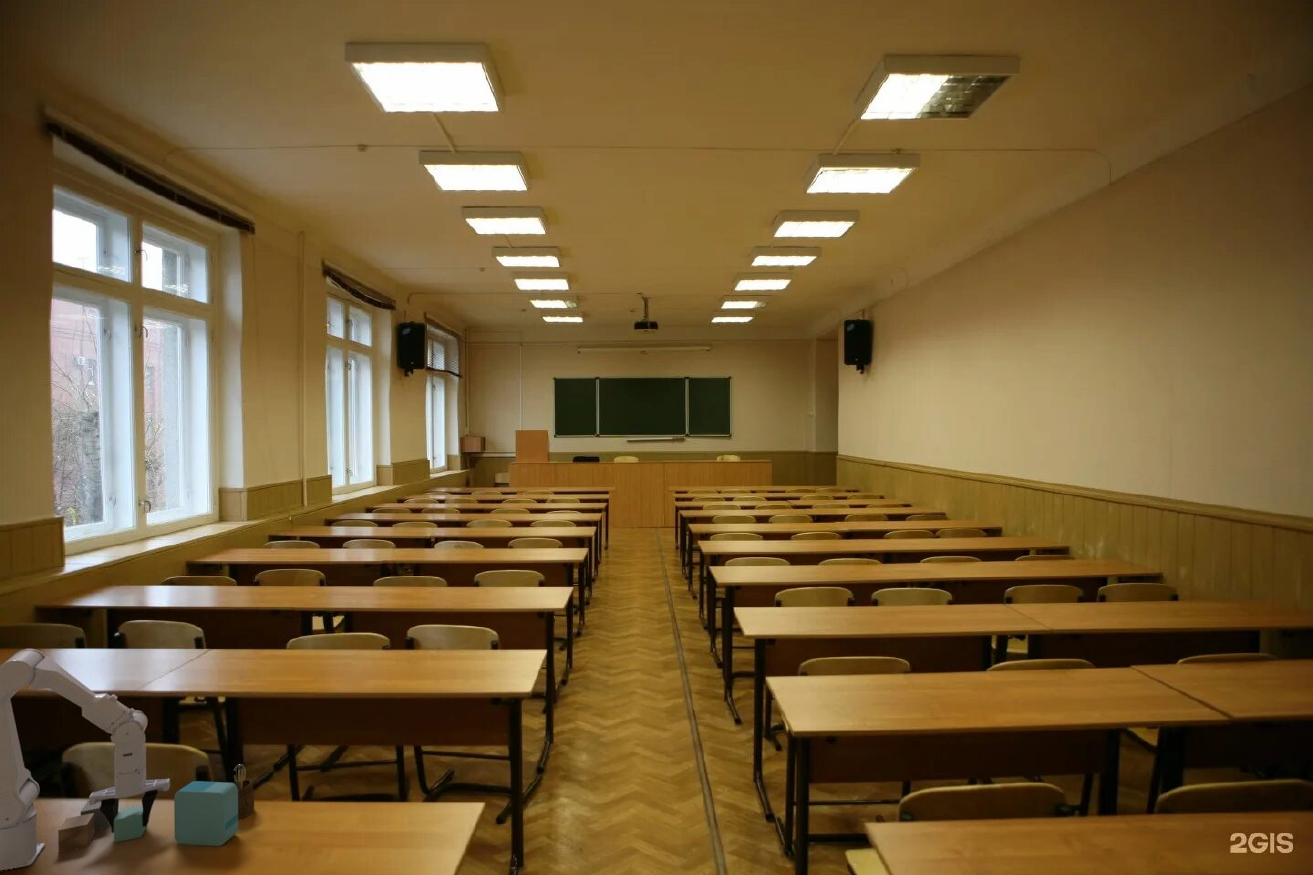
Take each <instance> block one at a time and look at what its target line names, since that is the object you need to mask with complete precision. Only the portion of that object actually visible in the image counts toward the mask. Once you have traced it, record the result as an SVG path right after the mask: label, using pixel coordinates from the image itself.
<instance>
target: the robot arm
mask: <svg viewBox="0 0 1313 875" xmlns="http://www.w3.org/2000/svg"><path fill="white" fill-rule="evenodd" d="M28 685H30V686H29V687H28V688H27V689H28V690H38V689H49V690H52V691H53V692H55V693H56V694H58V695H60V696H62V697H63V698H65V699H66V700H69V701H70V702H72V703H73V704H75V705H77V706H78V707H81V717H83V718H85V720H88V721H90V723H92V724H94V725H95V726H96V727H98V728H99V729H101V730H103V731H104V732H106V733H108V734H111V736H110V741H111V742H112V743H113V744H114V753H113V754H114V755H113V759H114V762H113V763H114V766H113V768H114V771H113V772H114V775H113V776H114V778H113V779H114V784H113V785H114V786H113V787H109V788H105V789H102V790H99V791H98V790H97V791H94V792H93V791H92V792H91V794H90V795H89V797H88V801H89V805H93V804H96V803H97V802H101V806H100V811H101V812H102V813H103V814H104V815H105V816H106V818H107V820H108V821H109V824H110V825H109V826H110V829H111V833H112V834H114V819H115V817H116V816H117V814H118V812H119V805H120V799H123V798H130V797H133V796H139V795H143V794H144V795H143V797H142V799H141V805H143V827H145V826H146V827H147V826H148V825H149V822H150V816H151V811H152V808H153V806H154V802H155V800H156V797H157V796H158V794H159V792H160V791H162V792H167V791H169V790H170V787H171V779H170V778H165V779H148V780H147V745H146V734H145V731H146V728H147V726H148V721H149V720H148V717H147V715H146V714H144V712H143V711H142V710H135V709H134V708H132V707H131V708H129V707H128V706H126V705H124V704H123V703H121V702H120V701H119V700H117V699H118V696H117V695H116V694H114V693H113V694H111V695H110V694H108V693H106V692H105V693H104V692H103V693H96V692H94V691H93V690H91V689H90V688H89V687H88V686H86V685H85V684H84V683H82V682H81V681H80V680H78V679H77V678H76V677H74V676H73V675H72V674H71V673H69V672H68V671H67V670H66V669H65V668H63V667H61V665H59V664H58V662H56V660H55V659H54V658H52V657H51V656H47V655H46V656H45V654H44V653H43V652H42V651H40V650H38V649H34V648H25V649H22V650H19V651H17V652H16V653H14V654H13V655H12V656H11V657H9V659H7V660H6V661H5V662H4V663H2V664H1V665H0V870H4V869H10V870H14V869H13V868H15V869H19V868H23V867H29V866H31V865H32V864H33V863H34V861H35V860H36V859H37V857H39V856H38V855H40V853H41V852H42V850H43V849H44V848H45V846H46V844H45V842H41V843H38V829H37V828H38V821H37V820H38V818H37V817H38V816H37V815H38V814H37V812H38V810H37V808H36V806H35V805H34V801H36V800H37V799H38V797H39V794H40V785H39V783H38V782H37V781H35V780H34V778H33V777H32V774H31V771H30V770H29V769H28V768H26V767H25V762H24V759H23V758H24V757H23V753H22V749H21V744H20V739H19V734H18V729H17V726H16V725H17V724H16V720H15V715H14V712H13V711H14V710H13V706H12V700H11V698H13V696H14V695H15V694H16V693H17V692H18V691H20V690H21V689H23V688H24V687H26V686H28Z"/></svg>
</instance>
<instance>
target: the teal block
mask: <svg viewBox="0 0 1313 875" xmlns="http://www.w3.org/2000/svg"><path fill="white" fill-rule="evenodd" d="M146 827H147V826H145V827H143V805H142V804H139V805H134V806H129V807H123V808H120V809H118V814H117V816H116V817H115V819H114V833H113V843H118V842H119V843H120V842H122V841H123V842H124V841H127V840H133V839H136V838H137V839H138V838H142V837H143V834H144V832H145V830H146Z"/></svg>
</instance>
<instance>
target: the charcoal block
mask: <svg viewBox="0 0 1313 875" xmlns="http://www.w3.org/2000/svg"><path fill="white" fill-rule="evenodd" d="M100 806H101V802H97V803H96V804H93V805H89V800H87V801H86V803H85V804H84V806H83V807H82V809H81V810H80V816H81V815H86V814H91V813H94V831H98V830H102V829H101V828H103V829H107V828H109V826H110V824H109V821H108V820H107V818H106V816H105V815H104V814H103V813H102V812H101V811H100ZM97 829H98V830H97Z"/></svg>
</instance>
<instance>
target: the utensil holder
mask: <svg viewBox="0 0 1313 875" xmlns="http://www.w3.org/2000/svg"><path fill="white" fill-rule="evenodd" d="M240 767H242V768H240ZM237 768H238V769H237ZM233 770H238V772H237V773H238V774H237V776H234V777H233V778H234V780H235V781H234V782H233V783H234V784H235V785H236V786H237V788H238V820H240V819H243V818H247V817H248V816H249V815H251V814H252V813H253V812H254V810H255V790H254V788H253V786H254V785H253V781H252V780H251V779H246V774H247V768H246V767H245V766H244V764H237V765H236V766H235V768H234V769H233Z"/></svg>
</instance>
